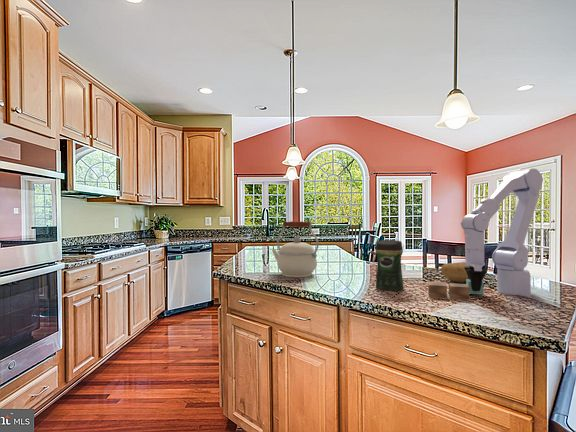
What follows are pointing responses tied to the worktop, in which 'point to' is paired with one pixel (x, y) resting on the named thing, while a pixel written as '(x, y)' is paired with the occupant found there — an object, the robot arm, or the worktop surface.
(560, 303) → the worktop surface
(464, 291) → the walnut block
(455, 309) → the worktop surface
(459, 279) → the potato
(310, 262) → the kettle
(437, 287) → the walnut block
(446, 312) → the worktop surface
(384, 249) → the coffee jar
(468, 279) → the teal block
